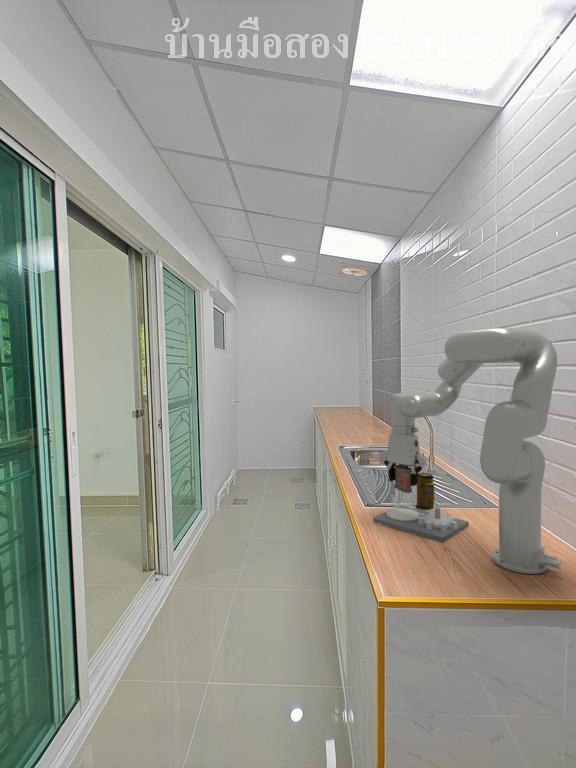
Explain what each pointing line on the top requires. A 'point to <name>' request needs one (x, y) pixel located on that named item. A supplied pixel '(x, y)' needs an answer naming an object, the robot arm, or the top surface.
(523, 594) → the top surface
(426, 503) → the condiment
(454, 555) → the top surface
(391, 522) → the gear board
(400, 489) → the lighter
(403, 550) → the top surface
